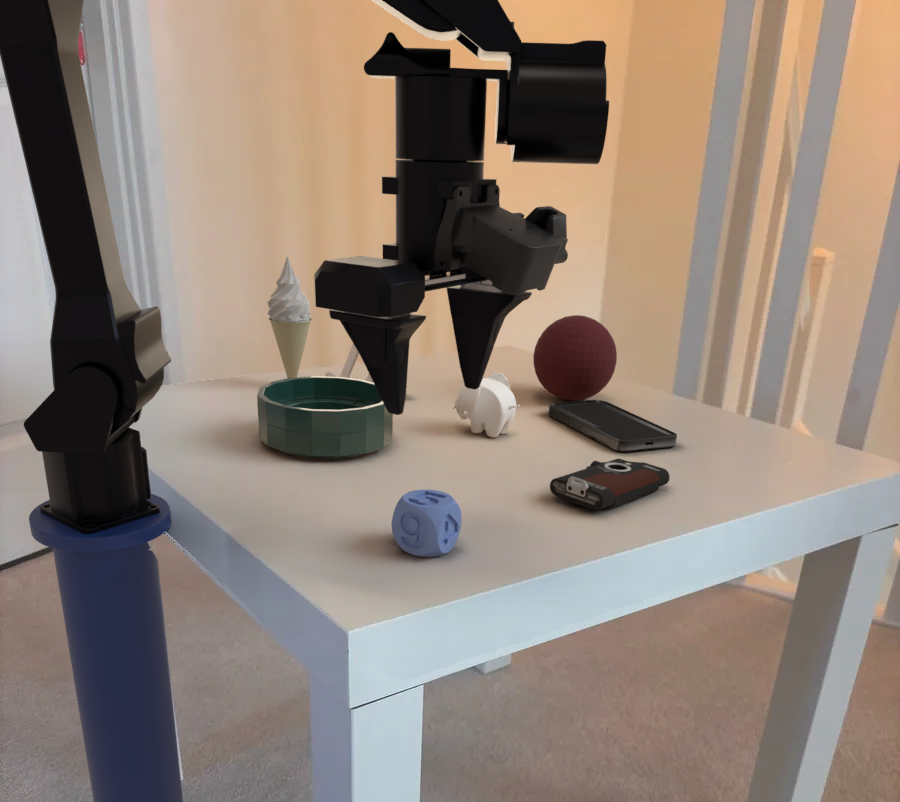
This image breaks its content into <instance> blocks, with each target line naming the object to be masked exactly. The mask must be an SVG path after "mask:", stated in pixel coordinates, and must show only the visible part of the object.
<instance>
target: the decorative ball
mask: <svg viewBox="0 0 900 802" xmlns="http://www.w3.org/2000/svg"><path fill="white" fill-rule="evenodd" d="M617 359H618V354H617V346H616V343H615V340H614V338H613V336H612V334H611V333H610V332H609V330H608V328H606V327H605V326H604V325H603V324H602V323H601V322H599V321H598V320H596V319H595V318H592V317H589V316H586V315H580V314H579V315H578V314H576V315H575V314H574V315H573V314H572V315H568V316H564V317H561V318H559V319H557V320H555V321H553V322H552V323H550V324H549V325H548V326H546V328H545V329H544V330H543V331H542V333H541V335H540V336H539V338H538V339H537V342H536V344H535V347H534V352H533V368H534V372H535V375H536V377H537V380H538V382H539V383H540V384H541V386H542V387H543V389H545V390H546V391H547V392H548V393H549V394H551V395H553V396H554V397H556V398H558V399H560V400H564V401H567V402H575V401H585V400H587V399H590V398H592V397H594V396H595V395H597V394H599V393H600V392H601V391H602V390H604V388H605V387H606V386H607V385H608V384H609V382H610V381H611V379H612V378H613V375H614V374H615V370H616V366H617Z"/></svg>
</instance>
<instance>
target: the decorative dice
mask: <svg viewBox="0 0 900 802" xmlns="http://www.w3.org/2000/svg"><path fill="white" fill-rule="evenodd" d="M461 527H462V511H461V507H460V506H459V504H458V503H457V501H456V499H455V498H454V497H453V496H452V495H451V494H449V493H447V492H444V491H441V490H436V489H427V488H425V489H415V490H410V491H408V492H406V493H404V494H403V495H402V496H401V497H400V498H399V499H398V501H397V503H396V505H395V508H394V509H393V514H392V519H391V533H392V536H393V538H394V540H395V543H396V544H397V545H398V547H399V548H400V549H401V550H402V551H403V552H405V553H407V554H409V555H411V556H414V557H420V558H435V557H441V556H444V555H447V554H448V553H449V552H450V551H451V550H453V548H454V546H455V544H456V543H457V540H458V538H459V536H460V531H461Z"/></svg>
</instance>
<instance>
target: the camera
mask: <svg viewBox="0 0 900 802" xmlns="http://www.w3.org/2000/svg"><path fill="white" fill-rule="evenodd" d="M670 478H671V477H670V473H669V471H668V470H667V469H665V468H664V467H660V466H656V465H653V464H650V463H647V462H642V461H641V462H639V461H629V460H625V459H621V458H615V459H612V460H608V461H603V462H602V461H599V460H593V461H592V462H591V463H590V464H589V466H586V467H585V468H584V469H581V470H577V471H574V472H571V473H567V474H565V475H561V476H558V477H555V478H552V479H551V480H550V483H549V490H550V492H551V494H553V496H555V497H557V498H559V499H562V500H564V501H566V502H569V503H572V504H576V505H578V506H581V507H585V508H589V509H592V510H593V511H594V510H595V511H597V510H602V509H604V508H606V509H612V508H615V507H618V506H620V505H623V504H625V503H628V502H631V501H633V500H636V499H639V498H641V497H644V496H646V495H649V494H651V493H655V492H657V491H658V490H659V489H660V487H663V486H665V485H667V484H668V483H669V482H670Z"/></svg>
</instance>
